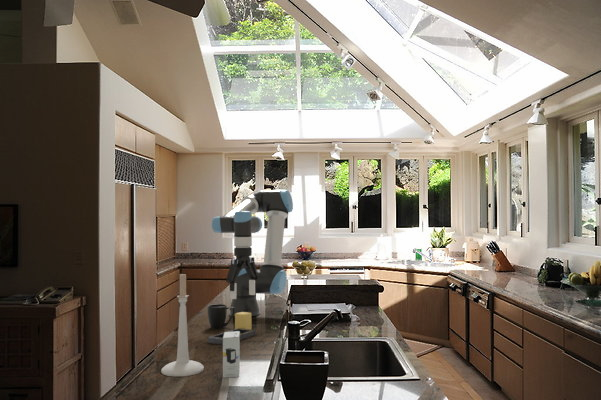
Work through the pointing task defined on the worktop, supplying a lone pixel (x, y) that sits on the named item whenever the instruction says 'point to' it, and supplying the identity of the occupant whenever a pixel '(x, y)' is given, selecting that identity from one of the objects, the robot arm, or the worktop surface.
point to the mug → (218, 315)
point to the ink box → (231, 354)
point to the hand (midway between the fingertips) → (242, 296)
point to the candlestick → (182, 342)
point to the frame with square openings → (243, 332)
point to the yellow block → (243, 320)
